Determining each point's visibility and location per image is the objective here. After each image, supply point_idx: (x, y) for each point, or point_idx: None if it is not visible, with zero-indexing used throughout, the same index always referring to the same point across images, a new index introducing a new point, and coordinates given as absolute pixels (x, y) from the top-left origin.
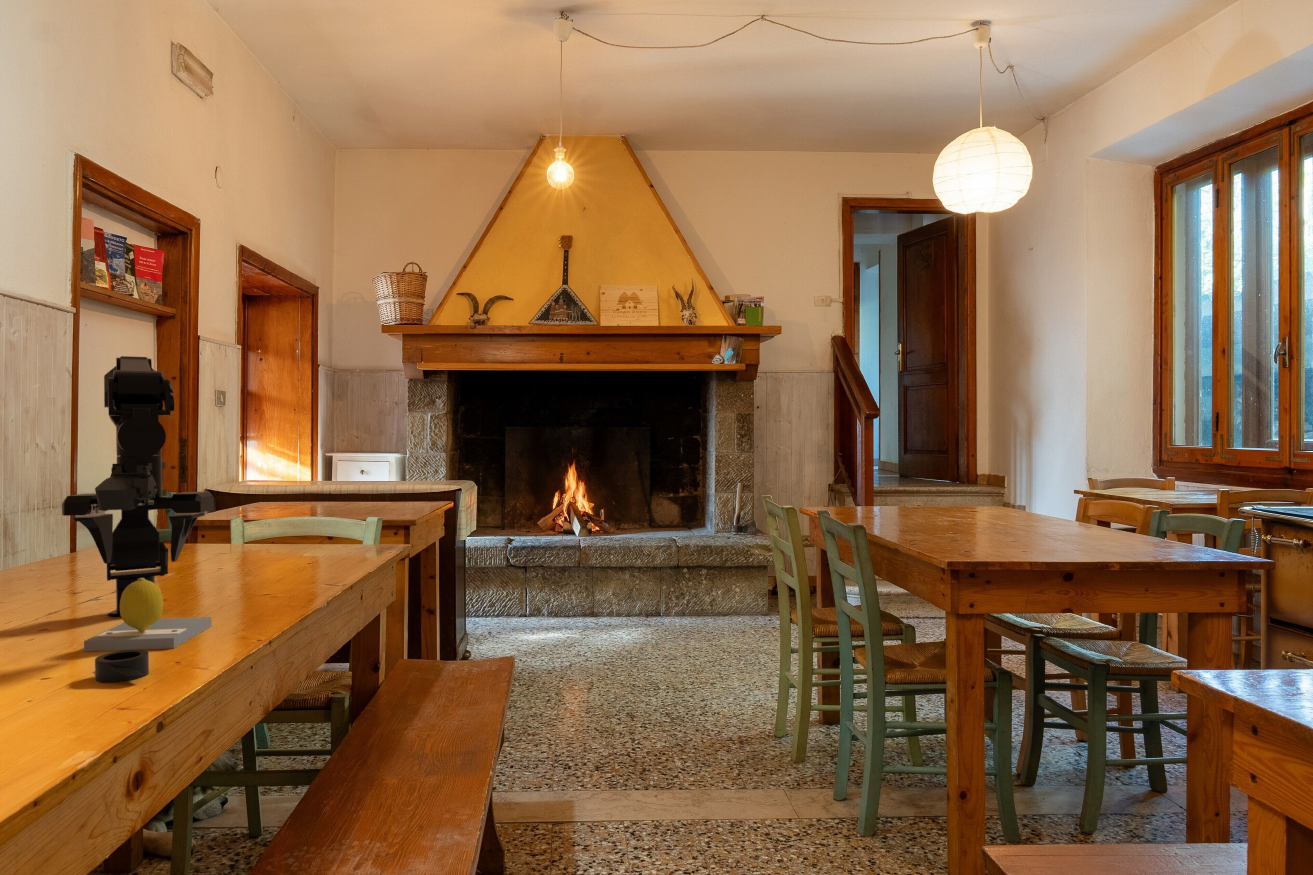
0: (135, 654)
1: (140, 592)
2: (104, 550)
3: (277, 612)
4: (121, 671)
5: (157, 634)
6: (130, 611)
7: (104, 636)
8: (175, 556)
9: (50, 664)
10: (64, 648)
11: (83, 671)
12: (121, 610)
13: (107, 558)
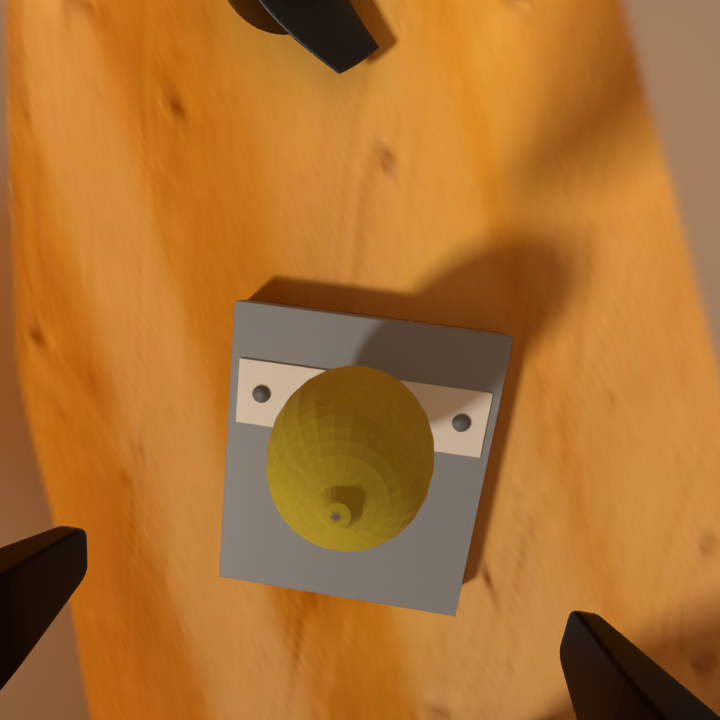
0: None
1: (325, 404)
2: (664, 710)
3: (106, 670)
4: None
5: (303, 366)
6: (372, 369)
7: (465, 389)
8: (13, 543)
9: (557, 185)
10: (574, 396)
11: (426, 55)
12: (414, 395)
13: (589, 650)
